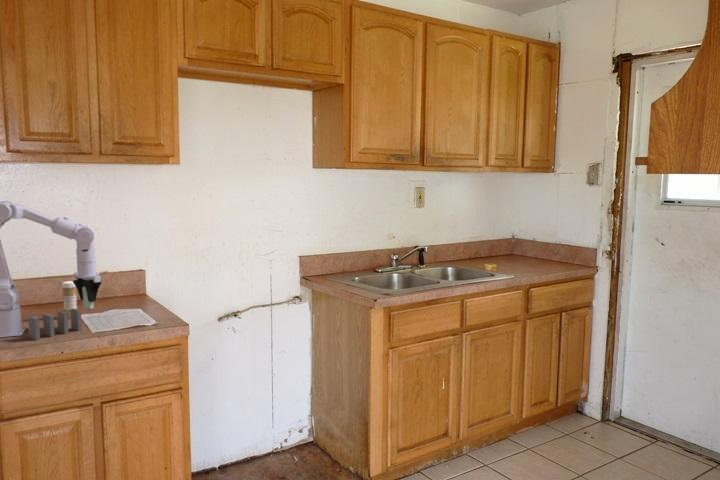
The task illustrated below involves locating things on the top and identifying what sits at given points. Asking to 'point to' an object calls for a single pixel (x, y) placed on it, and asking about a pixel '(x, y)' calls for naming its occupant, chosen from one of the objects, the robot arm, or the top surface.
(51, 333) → the domino
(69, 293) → the sprinkles bottle
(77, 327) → the domino
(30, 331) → the domino
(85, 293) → the green domino
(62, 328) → the domino
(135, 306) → the top surface
